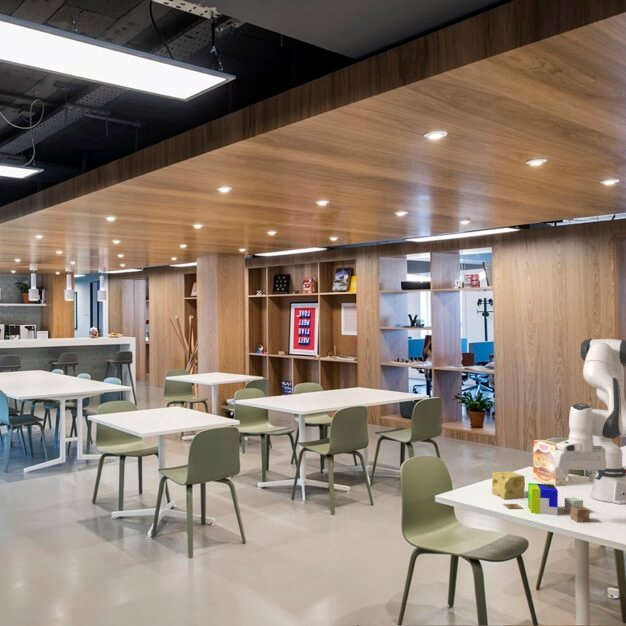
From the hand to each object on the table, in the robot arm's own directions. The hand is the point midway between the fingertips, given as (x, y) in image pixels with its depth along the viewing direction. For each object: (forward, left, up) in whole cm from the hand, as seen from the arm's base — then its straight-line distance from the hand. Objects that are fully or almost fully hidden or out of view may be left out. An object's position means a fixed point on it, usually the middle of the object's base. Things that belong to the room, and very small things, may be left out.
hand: (579, 480), depth 246 cm
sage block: (-4, -12, -16) cm, 20 cm away
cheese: (+14, -36, -16) cm, 42 cm away
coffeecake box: (-17, -59, -16) cm, 64 cm away
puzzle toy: (+9, -13, -16) cm, 22 cm away
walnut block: (0, 0, -16) cm, 16 cm away
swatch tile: (+19, -19, -15) cm, 31 cm away
